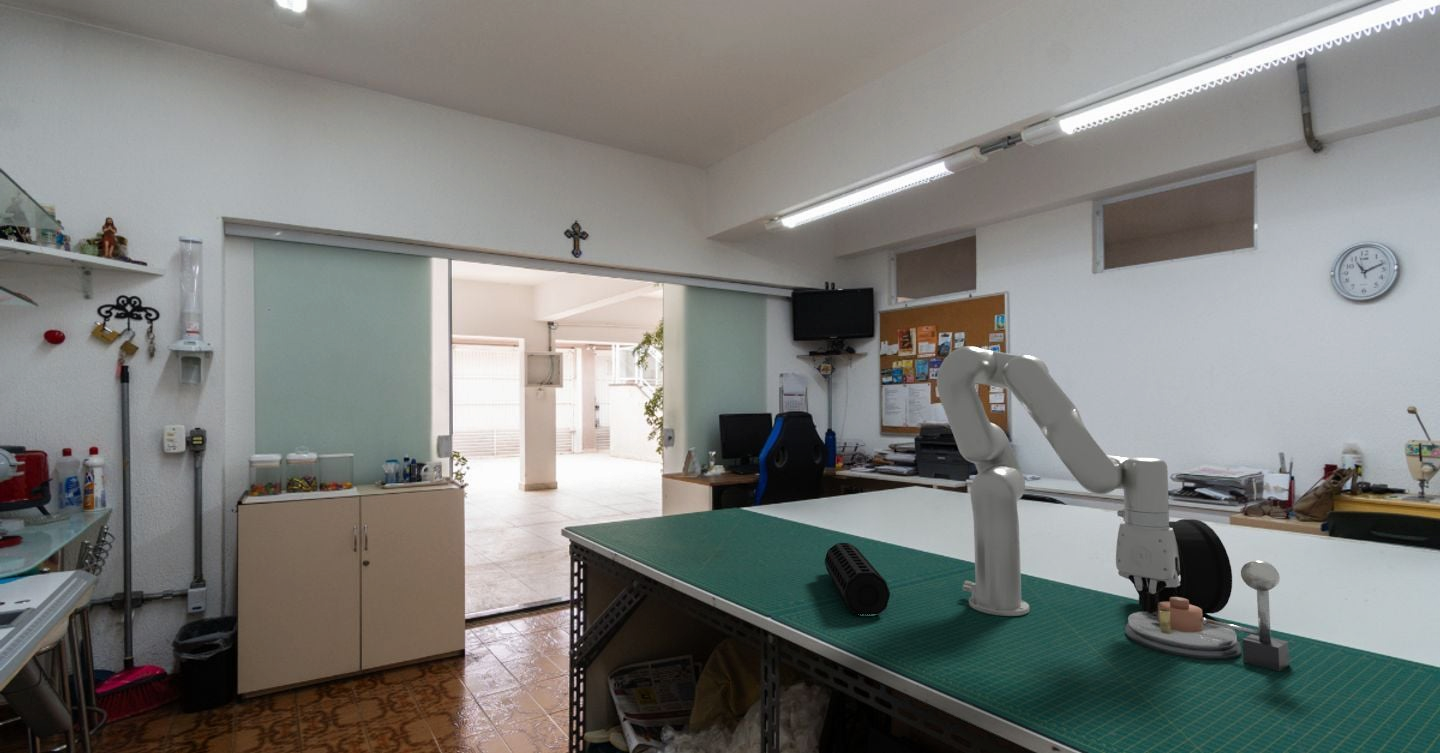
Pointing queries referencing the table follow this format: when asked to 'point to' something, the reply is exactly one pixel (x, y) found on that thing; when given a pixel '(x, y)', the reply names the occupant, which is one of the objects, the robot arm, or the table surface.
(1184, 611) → the cover
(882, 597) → the roller
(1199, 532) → the car wheel rim
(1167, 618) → the disc
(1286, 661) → the metal lever
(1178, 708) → the table surface
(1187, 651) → the turntable base
